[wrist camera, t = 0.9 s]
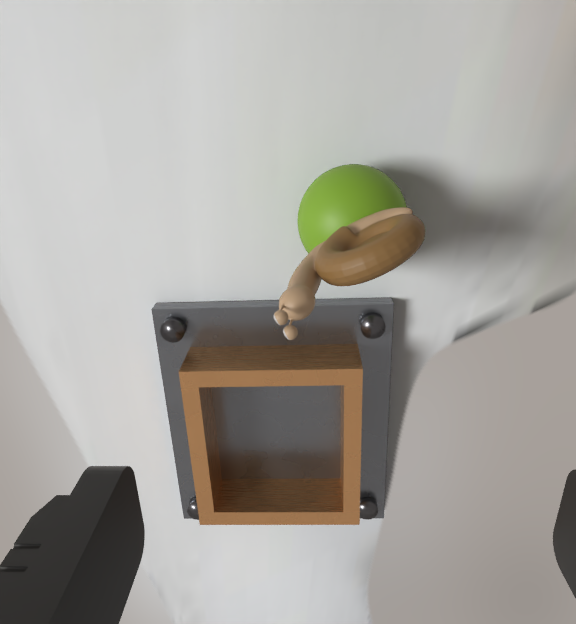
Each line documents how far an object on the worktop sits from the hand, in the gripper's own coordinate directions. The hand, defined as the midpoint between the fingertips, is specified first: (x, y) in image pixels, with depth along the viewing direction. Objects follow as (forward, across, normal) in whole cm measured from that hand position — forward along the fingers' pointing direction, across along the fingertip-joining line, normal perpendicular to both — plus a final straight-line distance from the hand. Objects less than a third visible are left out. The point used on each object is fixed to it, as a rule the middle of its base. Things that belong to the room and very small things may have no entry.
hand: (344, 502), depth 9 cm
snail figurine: (+21, -1, -1) cm, 21 cm away
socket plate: (+20, +3, +12) cm, 24 cm away
